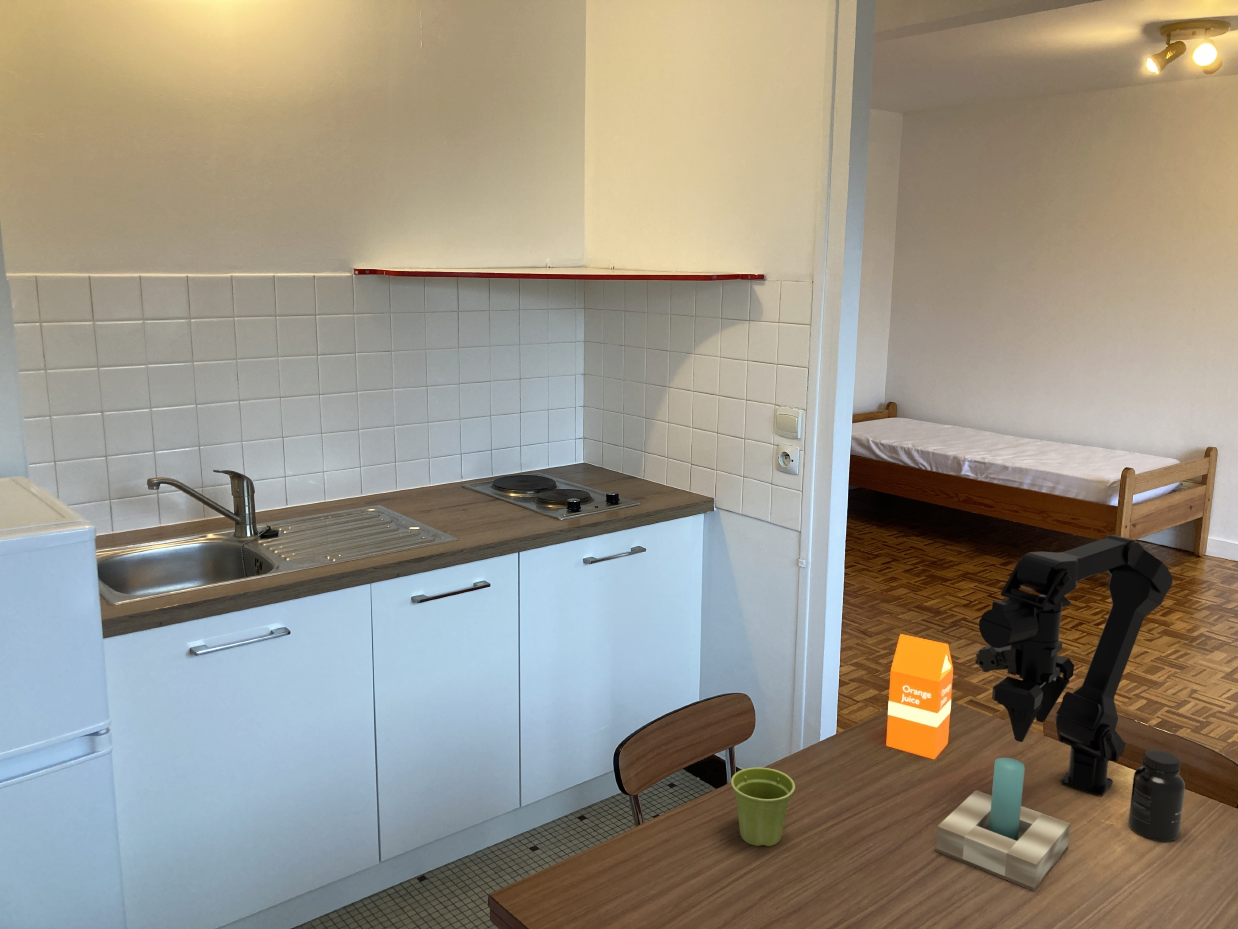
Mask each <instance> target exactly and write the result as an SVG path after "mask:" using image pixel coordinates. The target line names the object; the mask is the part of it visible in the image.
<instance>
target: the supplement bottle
mask: <svg viewBox="0 0 1238 929" xmlns="http://www.w3.org/2000/svg"><path fill="white" fill-rule="evenodd" d="M1142 758H1143V759H1142V761H1141V765H1142V766H1140V767H1138V768H1137V769H1136V770H1135V771H1134V773H1133V780H1132V788H1131V795H1130V796H1131V797H1130V805H1129V812H1128V814H1129V815H1128V824H1129V826H1130V828H1131V830H1133V831H1134V832H1135V833H1137V834H1138V835H1140V836H1142V837H1144V838H1147V839H1149V840H1154V841H1159V842H1170V841H1174V840H1176V839H1177V838H1178V837H1179V834H1180V829H1181V824H1182V817H1183V816H1182V815H1183V807H1184V799H1185V789H1186V784H1185V781H1184V779H1183V777H1182V776H1181V775H1180V771H1181V768H1180V767H1181V760H1180V758H1179V757H1178V756H1176V755H1174V754H1173V753H1171V752H1167V751H1163V750H1159V749H1149V750H1146V751H1145V752H1143V757H1142Z"/></svg>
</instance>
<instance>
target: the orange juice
mask: <svg viewBox="0 0 1238 929" xmlns="http://www.w3.org/2000/svg"><path fill="white" fill-rule="evenodd" d="M894 652H895V653H894V657H893V661H892V663H891V668H890V677H889V678H890V679H889V692H888V694H889V695H888V696H889V697H888V705H887V706H888V707H887V708H888V709H887V727H886V728H887V729H886V744H885V746H886V747H890V748H894V749H895V750H896V749H897V750H901V751H904V752H907V753H911V754H914V755H917V756H921V757H924V758H929V759H932V760H936V758H937V757H938V756H939V754H941V752H942V751H943V750H944V749H945V748H946V746H947V745H948V743H949V733H950V716H951V709H952V708H951V707H952V691H953V690H952V689H953V674H954V666H953V662H952V657H951V652H950V647H949V643H946V642H945V643H944V642H940V641H935V640H931V639H930V640H929V639H924V638H921V637H916V636H911V635H907V634H902V633H900V634H899V638H898V641H897V645H896V650H895V651H894Z"/></svg>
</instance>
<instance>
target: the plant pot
mask: <svg viewBox="0 0 1238 929" xmlns="http://www.w3.org/2000/svg"><path fill="white" fill-rule="evenodd" d="M730 784H731V787H732V789H733V791H734V795H735V798H736V805H737V806H736V807H737V816H738V823H739V824H738V825H739V826H738V827H739V834H740V836H741V839H742V840H743V841H744V842H745V843H747V844H749V845H752V846H755V847H760V846H766V847H772V846H775V845H777V844H778V843H779V842H780V841H781V840H782V836H783V830H784V824H785V819H786V815H787V810H788V807H789V805H788V804H789V802H790V800H791V797H792V796H793V794H794V792H795V790H796V785H795V782H794V780H793V778H791V777H790V775H787V774H786V773H785V772H782V771H780V770H778V769H773V768H768V767H757V766H756V767H749V768H744V769H741V770H738V771H736V773H734V774H733V775H732V777H731V779H730Z"/></svg>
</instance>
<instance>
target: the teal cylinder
mask: <svg viewBox="0 0 1238 929" xmlns="http://www.w3.org/2000/svg"><path fill="white" fill-rule="evenodd" d="M993 766H994V767H993V778H992V790H991V795H992V800H991V811H990V822H989V831H992V832H994V833H997V834H1000V835H1002V836H1005V837H1008V838H1010V839H1013V840H1016V841H1018V833H1019V822H1020V812H1021V806H1022V798H1023V788H1024V779H1025V778H1024V776H1025V765H1024V763H1023V762H1021V761H1019V760H1017V759H1016V758H1015V759H1014V758H1011V757H999V758H996V759H995V760H994V765H993Z"/></svg>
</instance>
